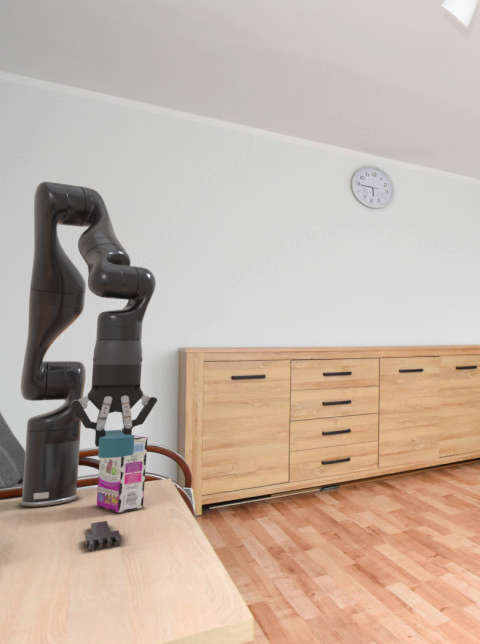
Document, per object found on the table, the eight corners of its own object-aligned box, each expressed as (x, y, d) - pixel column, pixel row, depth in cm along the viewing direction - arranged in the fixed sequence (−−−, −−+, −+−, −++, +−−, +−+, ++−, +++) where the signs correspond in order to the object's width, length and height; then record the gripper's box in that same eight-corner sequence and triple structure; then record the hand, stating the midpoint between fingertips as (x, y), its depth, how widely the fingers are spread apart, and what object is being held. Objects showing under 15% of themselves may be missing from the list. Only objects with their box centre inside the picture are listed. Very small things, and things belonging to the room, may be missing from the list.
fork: (82, 530, 113) (83, 524, 113) (114, 525, 116) (114, 519, 116) (87, 551, 101) (87, 545, 101) (121, 545, 105) (122, 539, 105)
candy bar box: (145, 508, 128) (149, 436, 129) (118, 514, 124) (122, 439, 124) (121, 501, 133) (125, 432, 134) (95, 506, 129) (99, 435, 130)
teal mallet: (93, 449, 114) (94, 431, 114) (127, 446, 118) (128, 429, 118) (99, 458, 104) (100, 439, 105) (134, 455, 108) (136, 436, 108)
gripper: (158, 361, 121) (154, 442, 120) (69, 362, 111) (64, 449, 110) (164, 362, 116) (159, 446, 115) (71, 363, 106) (65, 454, 105)
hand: (112, 447), depth 113 cm, fingers closed on teal mallet, 2 cm apart
